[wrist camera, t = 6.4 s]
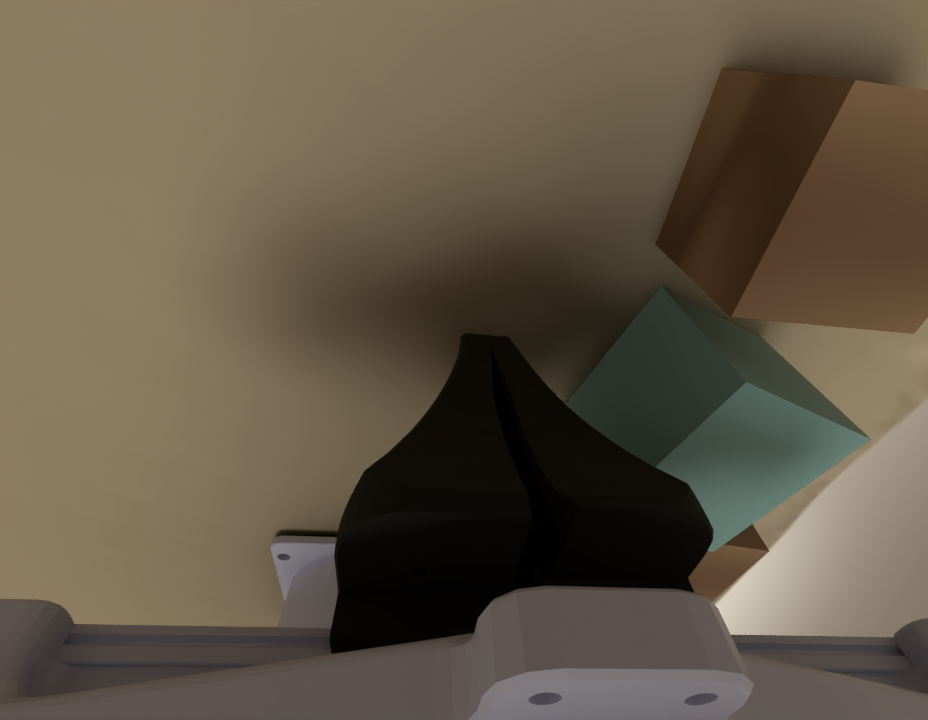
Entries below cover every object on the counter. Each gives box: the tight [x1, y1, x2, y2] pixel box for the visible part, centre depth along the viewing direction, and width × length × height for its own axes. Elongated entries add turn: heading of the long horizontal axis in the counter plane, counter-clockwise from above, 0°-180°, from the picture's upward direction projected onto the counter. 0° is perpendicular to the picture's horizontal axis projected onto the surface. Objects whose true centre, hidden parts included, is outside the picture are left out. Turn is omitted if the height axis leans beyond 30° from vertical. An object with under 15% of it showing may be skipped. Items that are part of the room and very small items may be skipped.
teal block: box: [566, 286, 870, 552], centre depth 13 cm, size 5×4×4 cm
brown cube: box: [656, 69, 928, 334], centre depth 9 cm, size 4×4×4 cm
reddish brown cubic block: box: [688, 525, 769, 601], centre depth 16 cm, size 4×4×4 cm
